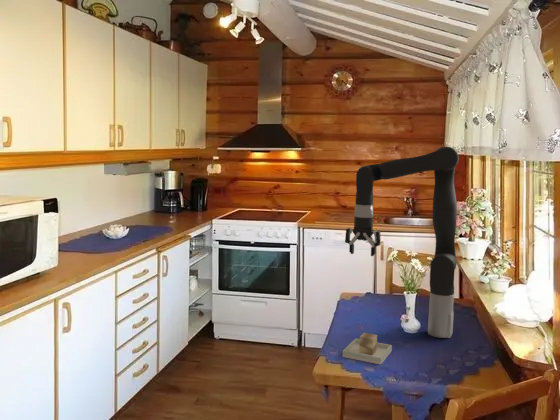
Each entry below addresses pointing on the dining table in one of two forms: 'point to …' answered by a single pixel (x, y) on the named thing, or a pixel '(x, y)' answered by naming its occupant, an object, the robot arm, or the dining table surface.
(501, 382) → the dining table surface
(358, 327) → the dining table surface
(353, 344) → the dish
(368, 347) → the birch block
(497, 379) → the dining table surface
